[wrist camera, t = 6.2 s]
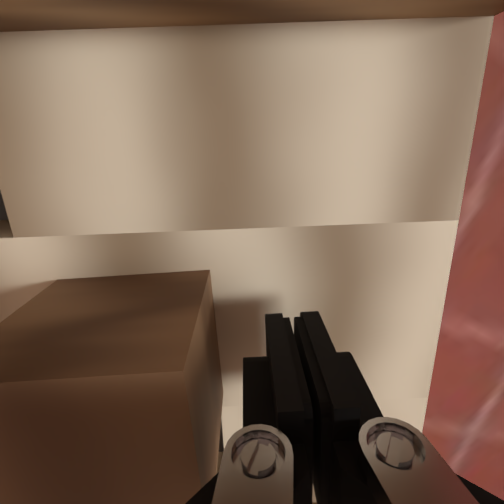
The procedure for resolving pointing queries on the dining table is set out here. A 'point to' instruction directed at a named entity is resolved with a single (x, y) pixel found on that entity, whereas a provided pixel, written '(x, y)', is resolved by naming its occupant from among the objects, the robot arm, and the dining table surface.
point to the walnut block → (111, 391)
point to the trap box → (248, 164)
